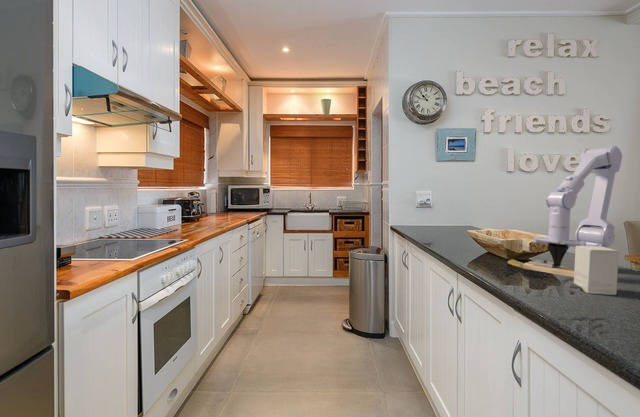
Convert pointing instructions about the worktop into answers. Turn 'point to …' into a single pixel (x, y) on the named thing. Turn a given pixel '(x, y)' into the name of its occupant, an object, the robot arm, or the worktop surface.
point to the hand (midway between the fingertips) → (557, 266)
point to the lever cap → (543, 263)
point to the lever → (515, 263)
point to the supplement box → (596, 269)
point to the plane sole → (550, 269)
